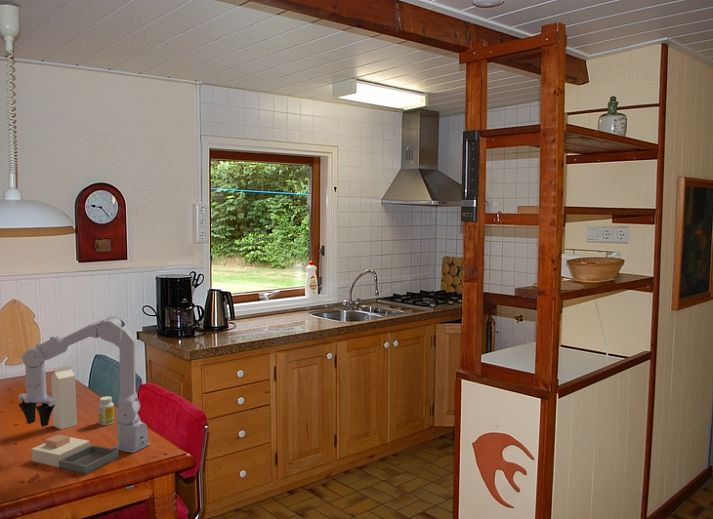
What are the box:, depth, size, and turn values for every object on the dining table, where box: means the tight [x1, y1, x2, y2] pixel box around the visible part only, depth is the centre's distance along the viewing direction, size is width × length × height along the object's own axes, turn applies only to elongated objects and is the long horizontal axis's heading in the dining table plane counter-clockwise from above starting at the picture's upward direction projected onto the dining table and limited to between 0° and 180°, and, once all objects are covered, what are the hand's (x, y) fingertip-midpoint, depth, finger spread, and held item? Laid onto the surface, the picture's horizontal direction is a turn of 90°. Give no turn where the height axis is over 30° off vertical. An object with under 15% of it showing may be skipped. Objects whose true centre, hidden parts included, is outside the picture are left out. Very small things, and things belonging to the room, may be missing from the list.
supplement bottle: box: [97, 395, 115, 426], centre depth 225 cm, size 5×5×10 cm
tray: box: [58, 444, 120, 475], centre depth 191 cm, size 11×13×2 cm
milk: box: [50, 365, 78, 430], centre depth 222 cm, size 6×6×22 cm
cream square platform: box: [30, 436, 91, 468], centre depth 195 cm, size 12×12×4 cm
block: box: [44, 433, 70, 448], centre depth 195 cm, size 5×5×2 cm
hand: (38, 424), depth 198 cm, fingers open, 6 cm apart
